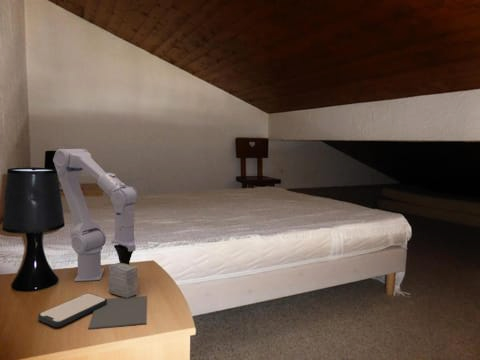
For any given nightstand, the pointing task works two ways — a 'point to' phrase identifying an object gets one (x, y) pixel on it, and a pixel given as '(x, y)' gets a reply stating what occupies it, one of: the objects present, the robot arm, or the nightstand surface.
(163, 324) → the nightstand surface
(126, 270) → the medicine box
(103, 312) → the mat
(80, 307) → the phone case
